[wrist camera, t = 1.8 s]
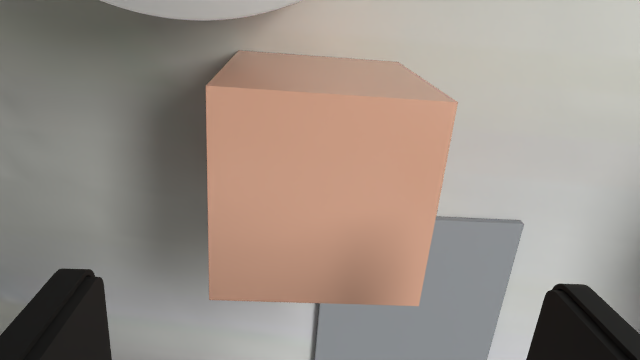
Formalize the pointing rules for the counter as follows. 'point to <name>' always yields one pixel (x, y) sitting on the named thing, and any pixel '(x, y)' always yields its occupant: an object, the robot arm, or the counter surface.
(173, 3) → the jar
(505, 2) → the counter surface
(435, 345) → the mat
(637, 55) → the counter surface
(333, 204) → the salmon pink block
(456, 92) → the counter surface
